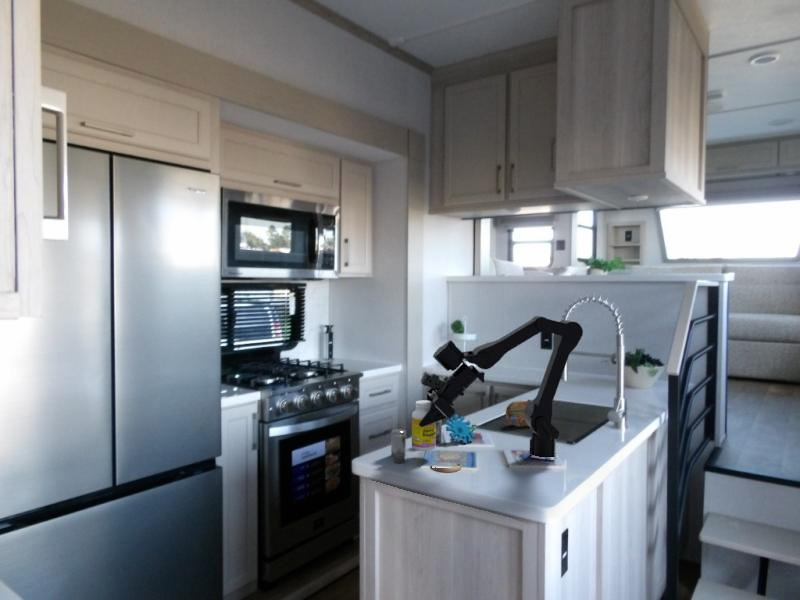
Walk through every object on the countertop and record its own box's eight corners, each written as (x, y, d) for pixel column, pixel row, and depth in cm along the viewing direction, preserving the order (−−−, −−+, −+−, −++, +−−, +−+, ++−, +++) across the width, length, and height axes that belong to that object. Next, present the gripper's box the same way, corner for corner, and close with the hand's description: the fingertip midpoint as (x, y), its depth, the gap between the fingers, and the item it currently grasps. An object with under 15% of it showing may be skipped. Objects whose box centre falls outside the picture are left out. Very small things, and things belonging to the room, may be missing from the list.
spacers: (442, 441, 175) (442, 418, 175) (416, 465, 152) (417, 439, 152) (413, 437, 178) (413, 415, 178) (383, 461, 155) (383, 435, 155)
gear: (452, 441, 169) (443, 412, 176) (443, 451, 173) (434, 422, 179) (483, 442, 174) (472, 413, 181) (473, 451, 178) (463, 424, 184)
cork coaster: (464, 464, 154) (464, 463, 154) (456, 474, 146) (456, 472, 146) (435, 460, 156) (435, 459, 156) (426, 470, 149) (426, 468, 149)
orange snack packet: (509, 427, 192) (509, 402, 191) (503, 425, 195) (504, 400, 194) (545, 423, 198) (546, 399, 198) (540, 421, 201) (540, 397, 200)
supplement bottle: (421, 453, 154) (421, 406, 153) (406, 447, 159) (406, 401, 159) (440, 448, 158) (440, 402, 157) (425, 443, 163) (425, 398, 163)
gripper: (434, 357, 167) (396, 395, 167) (442, 367, 148) (400, 410, 148) (460, 383, 168) (423, 421, 168) (472, 397, 149) (430, 439, 149)
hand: (418, 422), depth 158 cm, fingers closed on supplement bottle, 7 cm apart
